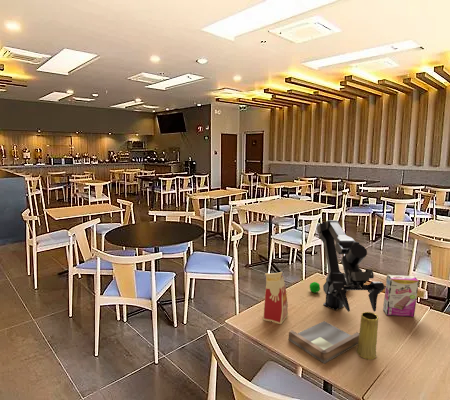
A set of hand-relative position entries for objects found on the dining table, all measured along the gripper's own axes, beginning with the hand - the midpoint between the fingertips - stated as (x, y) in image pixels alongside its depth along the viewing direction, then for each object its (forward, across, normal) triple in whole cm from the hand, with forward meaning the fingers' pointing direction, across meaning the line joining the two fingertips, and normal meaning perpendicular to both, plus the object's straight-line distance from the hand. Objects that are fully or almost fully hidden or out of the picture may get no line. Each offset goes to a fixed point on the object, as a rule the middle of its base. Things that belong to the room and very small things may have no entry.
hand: (361, 311), depth 118 cm
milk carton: (-4, -28, +22) cm, 36 cm away
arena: (+8, -12, +10) cm, 18 cm away
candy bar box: (-6, +25, +24) cm, 35 cm away
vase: (+13, 0, +5) cm, 14 cm away
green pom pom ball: (-21, -4, +38) cm, 44 cm away
